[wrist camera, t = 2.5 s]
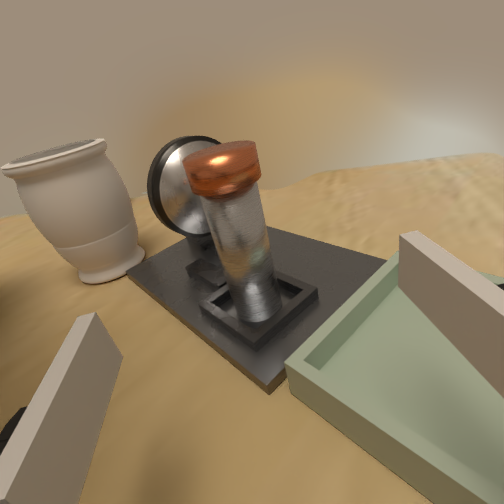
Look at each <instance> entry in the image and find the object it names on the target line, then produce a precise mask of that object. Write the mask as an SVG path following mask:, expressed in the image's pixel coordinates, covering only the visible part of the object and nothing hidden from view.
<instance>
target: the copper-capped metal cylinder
mask: <svg viewBox="0 0 504 504" xmlns="http://www.w3.org/2000/svg"><path fill="white" fill-rule="evenodd" d="M182 163H183V166H184V169H185V172H186V175H187V178H188V181H189V185H190V188H191V191H192V193H193V194H195V195H199V196H200V199H201V202H202V206H203V209H204V212H205V215H206V218H207V222H208V225H209V228H210V231H211V234H212V238H213V241H214V244H215V247H216V250H217V254H218V257H219V260H220V263H221V266H222V269H223V273H224V276H225V279H226V282H227V285H228V289H229V292H230V295H231V298H232V301H233V305H234V308H235V311H236V314H237V315H238V317H239V318H241V319H242V320H245V321H248V322H259V321H263V320H266V319H269V318H270V317H272V316H273V315H274V314H275V313H276V312H277V311H279V309H280V308H281V304H282V301H281V296H280V291H279V286H278V281H277V277H276V272H275V267H274V262H273V257H272V253H271V248H270V243H269V238H268V233H267V228H266V224H265V219H264V214H263V209H262V204H261V200H260V195H259V190H258V185H257V180H258V179H259V178H260V177H261V170H260V165H259V160H258V155H257V150H256V145H255V142H253V141H235V142H228V143H224V144H219V145H215V146H211V147H208V148H205V149H202V150H199V151H196V152H194V153H192V154H190V155H188V156H186V157H185V158H184V159H183V160H182Z"/></svg>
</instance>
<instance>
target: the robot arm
mask: <svg viewBox="0 0 504 504" xmlns="http://www.w3.org/2000/svg"><path fill="white" fill-rule="evenodd" d="M398 287H399V288H400V289H401V290H402V291H403V292H404V293H405V295H406V296H407V297H408V298H409V299H410V300H411V301H412V302H413V303H414V304H415V305H416V306H417V307H418V308H419V309H420V310H421V311H422V313H423V314H424V315H425V316H426V317H427V318H428V319H429V320H430V321H431V322H432V323H433V324H434V325H435V326H436V327H437V328H438V329H439V331H440V332H441V333H442V334H443V335H444V336H445V337H446V338H447V339H448V340H449V341H450V342H451V343H452V344H453V345H454V346H455V347H456V349H457V350H458V351H459V352H460V353H461V354H462V355H463V356H464V357H465V358H466V359H467V360H468V361H469V362H470V363H471V364H472V365H473V367H474V368H475V369H476V370H477V371H478V372H479V373H480V374H481V375H482V376H483V377H484V378H485V379H486V380H487V381H488V382H489V383H490V385H491V386H492V387H493V388H494V389H495V390H496V391H497V392H498V393H499V394H500V395H501V396H502V397H503V398H504V283H503V284H499V285H495V284H494V283H492V282H491V281H489V280H488V279H486V278H485V277H484V276H482V275H481V274H479V273H478V272H476V271H475V270H474V269H472V268H471V267H469V266H468V265H466V264H465V263H463V262H462V261H461V260H459V259H458V258H456V257H455V256H453V255H452V254H450V253H449V252H448V251H446V250H445V249H443V248H442V247H440V246H439V245H438V244H436V243H435V242H433V241H432V240H430V239H429V238H427V237H426V236H425V235H423V234H422V233H420V232H419V231H417V230H416V231H412V232H408V233H404V234H400V235H399V267H398ZM122 359H123V356H122V354H121V352H120V351H119V349H118V348H117V346H116V344H115V343H114V341H113V339H112V338H111V336H110V335H109V333H108V331H107V330H106V328H105V326H104V325H103V323H102V322H101V320H100V318H99V317H98V315H97V313H96V312H94V313H90V314H86V315H82V316H78V317H77V319H76V321H75V322H74V324H73V326H72V328H71V330H70V331H69V333H68V335H67V337H66V339H65V340H64V342H63V344H62V346H61V348H60V349H59V351H58V353H57V355H56V356H55V358H54V360H53V362H52V364H51V365H50V367H49V369H48V371H47V373H46V374H45V376H44V378H43V380H42V382H41V383H40V385H39V387H38V389H37V391H36V392H35V394H34V396H33V398H32V400H31V401H30V403H29V405H28V406H27V407H23V408H20V409H19V411H18V412H17V413H16V414H15V415H14V416H13V417H12V418H11V419H10V421H9V422H8V423H7V424H6V425H5V427H4V429H3V430H2V432H1V434H0V504H78V502H79V499H80V495H81V492H82V489H83V486H84V482H85V479H86V476H87V473H88V469H89V466H90V463H91V460H92V456H93V453H94V450H95V447H96V443H97V440H98V437H99V434H100V430H101V427H102V424H103V421H104V417H105V414H106V411H107V408H108V404H109V401H110V398H111V395H112V391H113V388H114V385H115V382H116V378H117V375H118V372H119V369H120V365H121V362H122Z"/></svg>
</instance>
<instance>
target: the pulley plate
mask: <svg viewBox="0 0 504 504" xmlns="http://www.w3.org/2000/svg"><path fill="white" fill-rule="evenodd" d="M219 144H221V143H220V142H218V141H217V140H215V139H212V138H209V137H206V136H184V137H180V138H177V139H174V140H172V141H171V142H169V143H168V144H166V145H165V146H164V147H163V148H162V149H161V150H160V151H159V152H158V154H157V155H156V157H155V158H154V160H153V162H152V164H151V167H150V170H149V174H148V180H147V193H148V198H149V202H150V205H151V208H152V210H153V212H154V213H155V215H156V217H157V218H158V219H159V220H160V221H161V223H163V224H164V225H165V226H166V227H168V228H169V229H171V230H173V231H175V232H177V233H179V234H182V235H184V236H186V238H185V239H183V240H181V241H179V242H178V243H176V244H174V245H172V246H170V247H168V248H167V249H165V250H163V251H161V252H159V253H157V254H155V255H154V256H152V257H150V258H148V259H146V260H144V261H143V262H141V263H139V264H137V265H135V266H133V267H132V268H130V269H128V270H126V271H125V272H126V274H127V276H128V278H129V279H131V280H132V281H133V282H134V283H135V284H137V285H138V286H139V287H140V288H141V289H143V290H144V291H145V292H146V293H147V294H149V295H150V296H151V297H152V298H153V299H155V300H156V301H157V302H158V303H159V304H161V305H162V306H163V307H164V308H165V309H167V310H168V311H169V312H170V313H171V314H173V315H174V316H175V317H176V318H177V319H179V320H180V321H181V322H182V323H183V324H185V325H186V326H187V327H188V328H189V329H191V330H192V331H193V332H194V333H195V334H197V335H198V336H199V337H200V338H201V339H203V340H204V341H205V342H206V343H207V344H209V345H210V346H211V347H212V348H213V349H215V350H216V351H217V352H218V353H219V354H221V355H222V356H223V357H224V358H225V359H227V360H228V361H229V362H230V363H231V364H233V365H234V366H235V367H236V368H237V369H239V370H240V371H241V372H242V373H243V374H245V375H246V376H247V377H248V378H249V379H251V380H252V381H253V382H254V383H255V384H257V385H258V386H259V387H260V388H261V389H263V390H264V391H265V392H266V393H267V394H269V395H270V394H271V393H272V392H273V391H274V390H275V389H276V388H277V387H278V386H279V385H280V384H281V383H282V381H283V380H284V379H285V378H286V377H287V373H286V369H285V365H284V362H285V361H286V360H287V359H288V358H289V357H290V356H291V355H292V354H293V353H294V352H295V351H296V350H297V349H298V348H299V347H300V346H301V345H302V344H303V343H304V342H305V341H306V340H307V339H308V338H309V337H310V336H311V335H312V334H313V333H314V332H315V331H316V330H317V329H318V328H319V327H320V326H321V325H322V324H323V323H324V322H325V321H326V320H327V319H328V318H329V317H330V316H331V315H333V314H334V313H335V312H336V311H337V310H338V309H339V308H340V307H341V306H342V305H343V304H344V303H345V302H346V301H347V300H348V299H349V298H350V297H351V296H352V295H353V294H354V293H355V292H356V291H357V290H358V289H359V288H360V287H361V286H362V285H363V284H364V283H365V282H366V281H367V280H368V279H369V278H370V277H371V276H372V275H373V274H374V273H375V272H376V271H377V270H378V269H379V268H380V267H381V266H382V265H383V264H385V263H386V262H387V261H388V260H384V259H381V258H377V257H374V256H370V255H367V254H363V253H360V252H356V251H353V250H349V249H346V248H342V247H339V246H335V245H332V244H328V243H324V242H321V241H317V240H314V239H310V238H307V237H303V236H300V235H296V234H293V233H289V232H286V231H282V230H279V229H275V228H272V227H268V226H266V228H267V233H268V238H269V243H270V248H271V253H272V257H273V262H274V267H275V272H276V277H277V281H278V286H279V291H280V296H281V301H282V304H281V308H280V309H279V311H277V312H276V313H275V314H274V315H273V316H272V317H270V318H269V319H266V320H263V321H259V322H248V321H245V320H242V319H241V318H239V317H238V315H237V314H236V311H235V308H234V305H233V301H232V298H231V295H230V292H229V289H228V285H227V282H226V279H225V276H224V273H223V269H222V266H221V263H220V260H219V257H218V254H217V250H216V247H215V244H214V241H213V238H212V234H211V231H210V228H209V225H208V222H207V218H206V215H205V212H204V209H203V206H202V202H201V199H200V196H199V195H195V194H193V193H192V191H191V188H190V185H189V181H188V178H187V175H186V172H185V169H184V166H183V163H182V160H183V159H184V158H185V157H186V156H188V155H190V154H192V153H194V152H196V151H199V150H202V149H205V148H208V147H211V146H215V145H219Z"/></svg>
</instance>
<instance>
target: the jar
mask: <svg viewBox="0 0 504 504" xmlns="http://www.w3.org/2000/svg"><path fill="white" fill-rule="evenodd" d="M104 140H105V139H103V138H101V139H91V140H85V141H80V142H75V143H71V144H67V145H63V146H59V147H55V148H52V149H48V150H44V151H41V152H37V153H34V154H31V155H28V156H25V157H22V158H19V159H17V160H14V161H12V162H10V163H7V164H6V165H4V166H2V167H1V169H2V173H3V174H4V175H5V176H6V177H9V178H12V179H14V180H15V182H16V184H17V189H18V193H19V195H20V198H21V200H22V203H23V205H24V207H25V209H26V211H27V213H28V215H29V217H30V218H31V220H32V221H33V223H34V224H35V226H36V227H37V229H38V230H39V231H40V232H41V234H42V235H43V236H44V237H45V238H46V239H47V240H48V241H49V242H50V243H51V244H52V245H53V247H54V248H55V249H56V251H57V252H58V253H59V254H60V255H61V256H62V257H63V258H64V259H65V260H66V261H67V262H69V263H70V264H71V265H73V266H75V267H76V268H79V278H80V280H81V281H82V282H84V283H89V284H97V283H103V282H107V281H111V280H113V279H116V278H119V277H121V276H123V275H125V274H126V272H125V271H126V270H128V269H130V268H132V267H133V266H135V265H137V264H139V263H141V262H142V260H143V259H144V256H145V251H144V250H143V248H142V247H140V246H139V245H137V242H138V230H137V224H136V220H135V217H134V214H133V209H132V204H131V201H130V198H129V195H128V192H127V189H126V187H125V185H124V183H123V181H122V179H121V177H120V175H119V173H118V172H117V170H116V168H115V167H114V165H113V164H112V162H111V161H110V160H109V159H108V158H107V156H106V154H105V151H106V149H107V144H106V142H105V141H104Z"/></svg>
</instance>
